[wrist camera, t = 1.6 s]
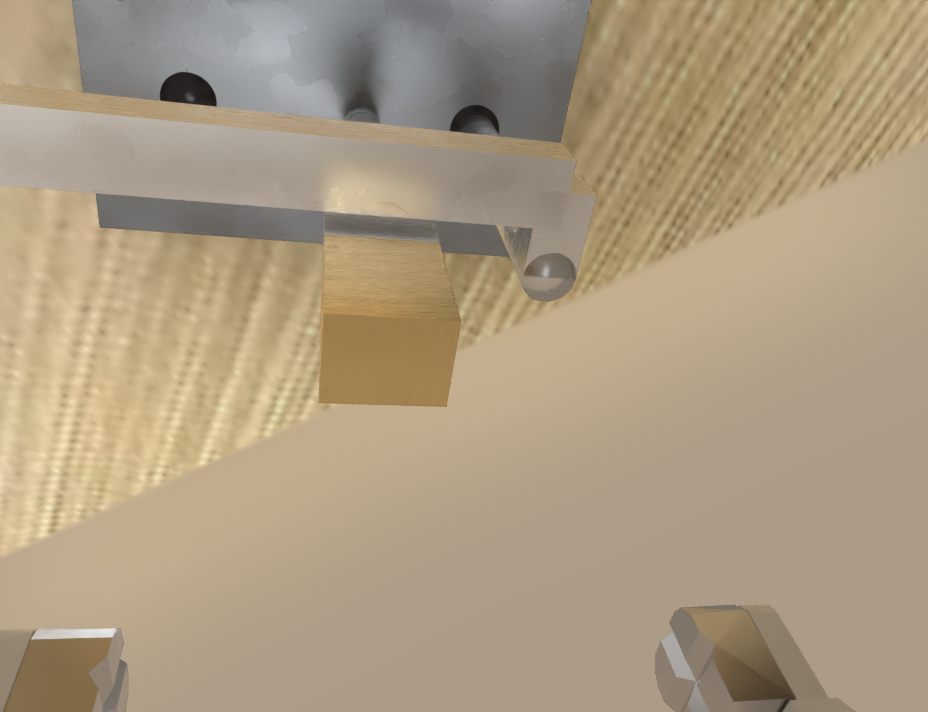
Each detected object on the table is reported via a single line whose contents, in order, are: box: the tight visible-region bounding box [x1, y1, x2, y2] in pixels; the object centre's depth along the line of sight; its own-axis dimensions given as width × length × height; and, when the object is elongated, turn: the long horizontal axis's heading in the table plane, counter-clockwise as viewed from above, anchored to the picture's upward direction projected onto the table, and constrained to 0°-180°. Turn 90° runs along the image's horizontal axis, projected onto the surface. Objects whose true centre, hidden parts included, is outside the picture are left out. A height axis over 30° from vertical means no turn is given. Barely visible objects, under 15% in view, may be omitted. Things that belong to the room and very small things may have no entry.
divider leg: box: [319, 108, 461, 407], centre depth 24 cm, size 3×2×18 cm
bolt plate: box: [72, 0, 591, 257], centre depth 32 cm, size 20×12×1 cm, turn 81°
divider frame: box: [0, 84, 597, 302], centre depth 25 cm, size 17×4×14 cm, turn 81°
